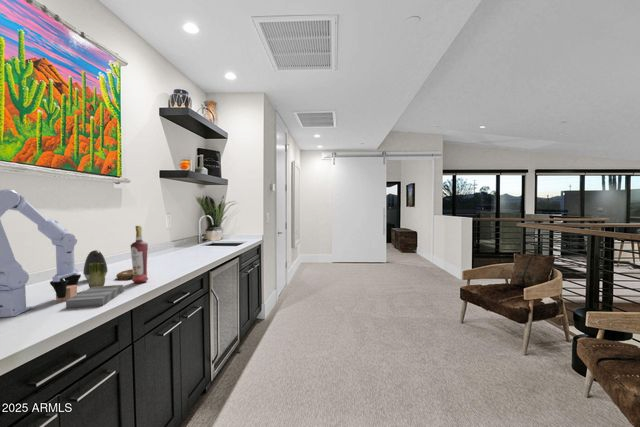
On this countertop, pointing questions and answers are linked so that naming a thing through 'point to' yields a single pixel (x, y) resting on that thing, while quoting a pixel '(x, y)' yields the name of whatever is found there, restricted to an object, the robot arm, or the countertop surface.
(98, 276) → the fennel bulb
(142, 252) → the liquor
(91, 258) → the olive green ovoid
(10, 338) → the countertop surface
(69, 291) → the terracotta block
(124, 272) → the decorative rock
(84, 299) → the charcoal board
